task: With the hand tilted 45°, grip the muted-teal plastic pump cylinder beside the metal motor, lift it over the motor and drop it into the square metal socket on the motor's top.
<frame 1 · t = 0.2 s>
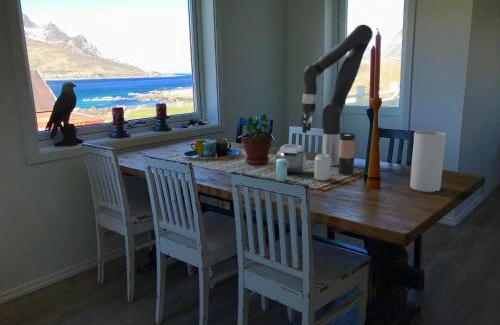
hand: (306, 131, 232), 18 cm above the table, tool pointing down, fingers open, 8 cm apart
can: (322, 179, 202), on the table
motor: (290, 172, 216), on the table
travel mug: (345, 173, 212), on the table
cylinder vase: (424, 189, 186), on the table
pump: (281, 180, 201), on the table
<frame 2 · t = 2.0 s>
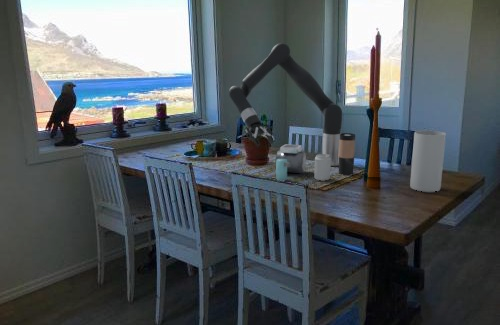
hand: (265, 144, 206), 16 cm above the table, tool tilted 45°, fingers open, 8 cm apart
nothing on the table moved.
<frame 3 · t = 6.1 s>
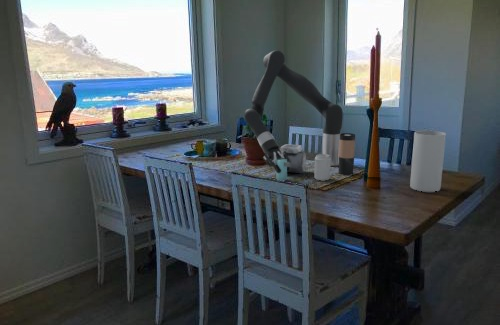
hand: (284, 171, 199), 5 cm above the table, tool tilted 45°, fingers closed on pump, 5 cm apart
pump: (281, 180, 201), on the table, touching gripper
everything else where it was.
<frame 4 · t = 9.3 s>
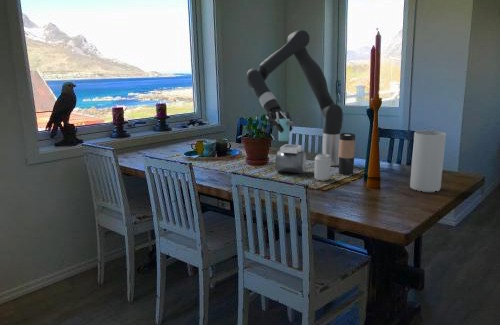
hand: (286, 130, 196), 24 cm above the table, tool tilted 45°, fingers closed on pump, 5 cm apart
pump: (283, 140, 198), point 19 cm above the table, touching gripper
everything else where it was.
when the fingers open (18 cm above the table, at t = 12.5 s): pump stays where it is, resting on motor.
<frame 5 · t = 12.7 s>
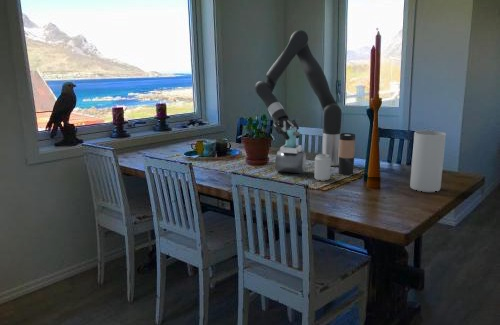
hand: (293, 138, 210), 18 cm above the table, tool tilted 45°, fingers open, 6 cm apart
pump: (290, 149, 213), point 12 cm above the table, touching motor
everything else where it was.
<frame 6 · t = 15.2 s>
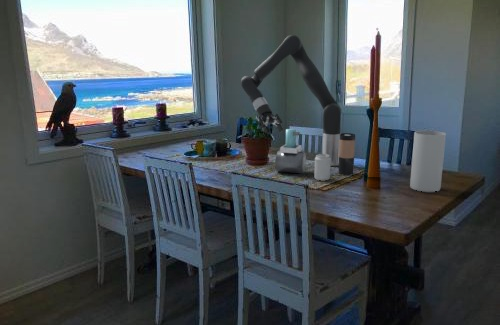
hand: (275, 132, 221), 19 cm above the table, tool tilted 40°, fingers open, 8 cm apart
nothing on the table moved.
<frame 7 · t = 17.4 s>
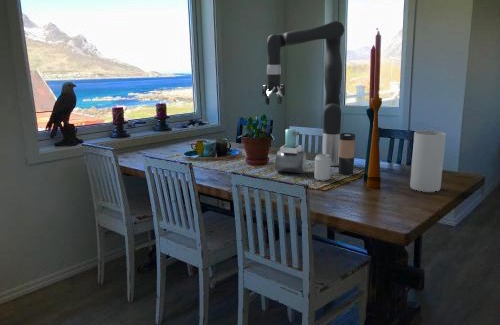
hand: (273, 104, 226), 33 cm above the table, tool pointing down, fingers open, 8 cm apart
nothing on the table moved.
at the end: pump 0.2 cm off-centre on the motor, point 12.1 cm above the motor's base; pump tilted 2°; the gripper is holding nothing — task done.
